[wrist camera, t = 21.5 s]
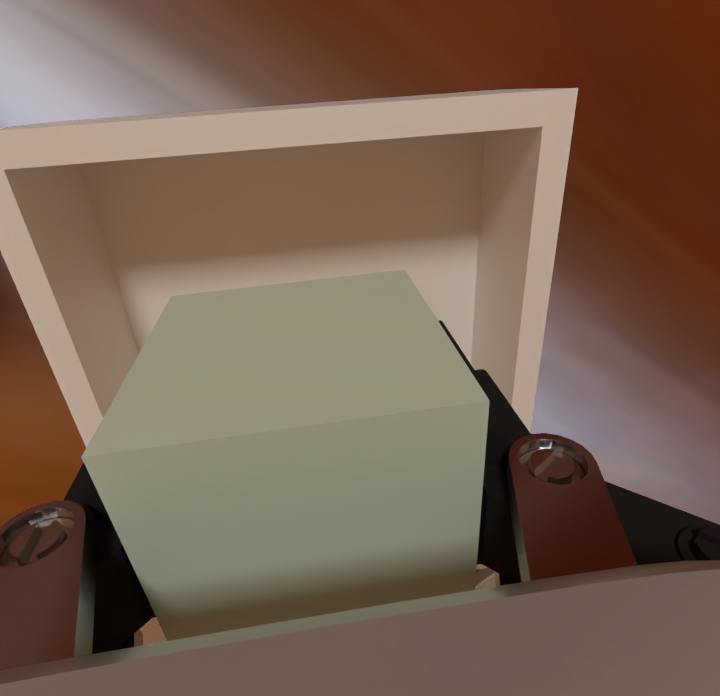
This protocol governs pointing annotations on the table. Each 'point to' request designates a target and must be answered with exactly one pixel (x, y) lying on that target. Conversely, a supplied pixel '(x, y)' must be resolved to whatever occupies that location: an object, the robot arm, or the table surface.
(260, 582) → the sage cube
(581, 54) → the table surface
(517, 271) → the tote
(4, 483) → the table surface
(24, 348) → the table surface
